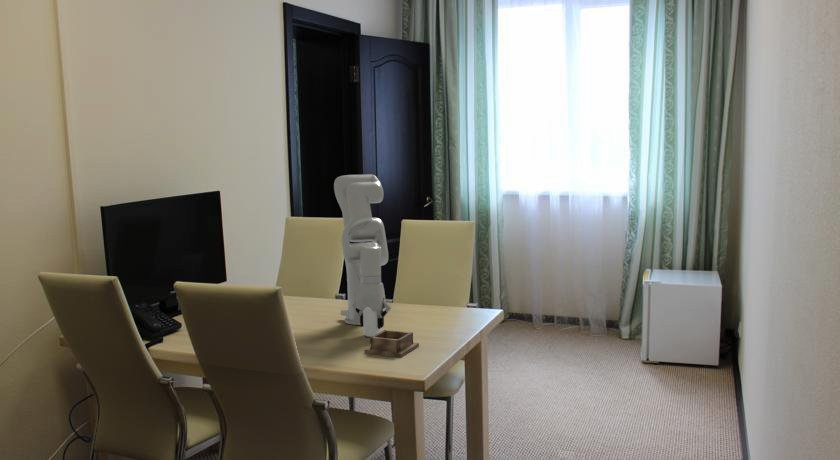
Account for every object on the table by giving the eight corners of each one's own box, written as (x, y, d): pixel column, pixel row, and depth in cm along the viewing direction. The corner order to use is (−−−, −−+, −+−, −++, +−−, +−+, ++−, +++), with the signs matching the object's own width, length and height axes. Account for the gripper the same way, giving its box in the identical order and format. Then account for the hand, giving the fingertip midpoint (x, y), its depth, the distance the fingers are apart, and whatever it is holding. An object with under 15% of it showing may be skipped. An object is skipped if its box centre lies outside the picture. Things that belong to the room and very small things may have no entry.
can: (383, 333, 277) (382, 301, 275) (377, 337, 271) (376, 305, 269) (367, 331, 279) (366, 300, 277) (360, 336, 273) (359, 304, 271)
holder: (364, 353, 252) (364, 338, 251) (383, 342, 264) (382, 328, 264) (401, 357, 246) (401, 342, 245) (418, 346, 259) (418, 331, 258)
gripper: (345, 279, 272) (346, 327, 274) (387, 283, 265) (388, 331, 267) (355, 275, 279) (356, 322, 281) (396, 279, 272) (397, 326, 274)
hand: (372, 326), depth 274 cm, fingers closed on can, 6 cm apart
